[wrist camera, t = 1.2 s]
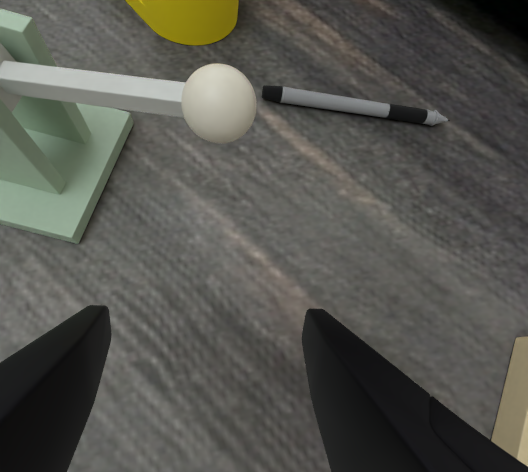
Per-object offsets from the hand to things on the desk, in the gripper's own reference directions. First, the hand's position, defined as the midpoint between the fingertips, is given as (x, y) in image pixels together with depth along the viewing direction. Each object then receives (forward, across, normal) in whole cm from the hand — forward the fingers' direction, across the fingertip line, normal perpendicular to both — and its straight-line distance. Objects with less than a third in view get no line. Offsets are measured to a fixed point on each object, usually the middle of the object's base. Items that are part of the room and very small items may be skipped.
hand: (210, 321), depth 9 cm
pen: (+23, -11, -4) cm, 26 cm away
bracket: (+18, +12, +1) cm, 22 cm away
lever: (+12, +5, -3) cm, 13 cm away
